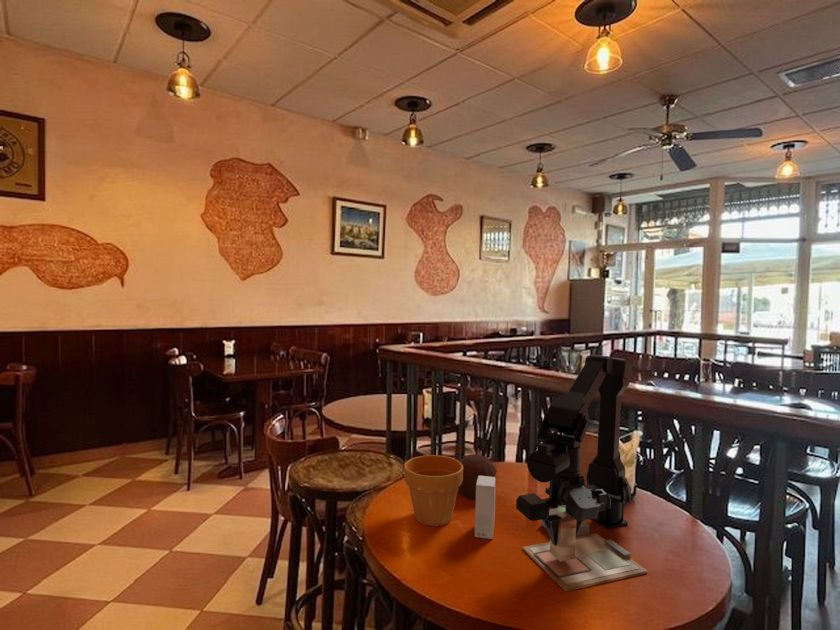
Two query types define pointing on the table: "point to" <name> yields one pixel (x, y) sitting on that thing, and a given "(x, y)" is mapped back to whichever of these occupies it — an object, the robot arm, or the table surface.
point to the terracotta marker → (565, 538)
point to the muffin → (474, 473)
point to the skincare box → (485, 507)
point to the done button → (561, 509)
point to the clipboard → (586, 563)
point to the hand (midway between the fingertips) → (562, 543)
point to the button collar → (582, 530)
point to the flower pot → (433, 487)
